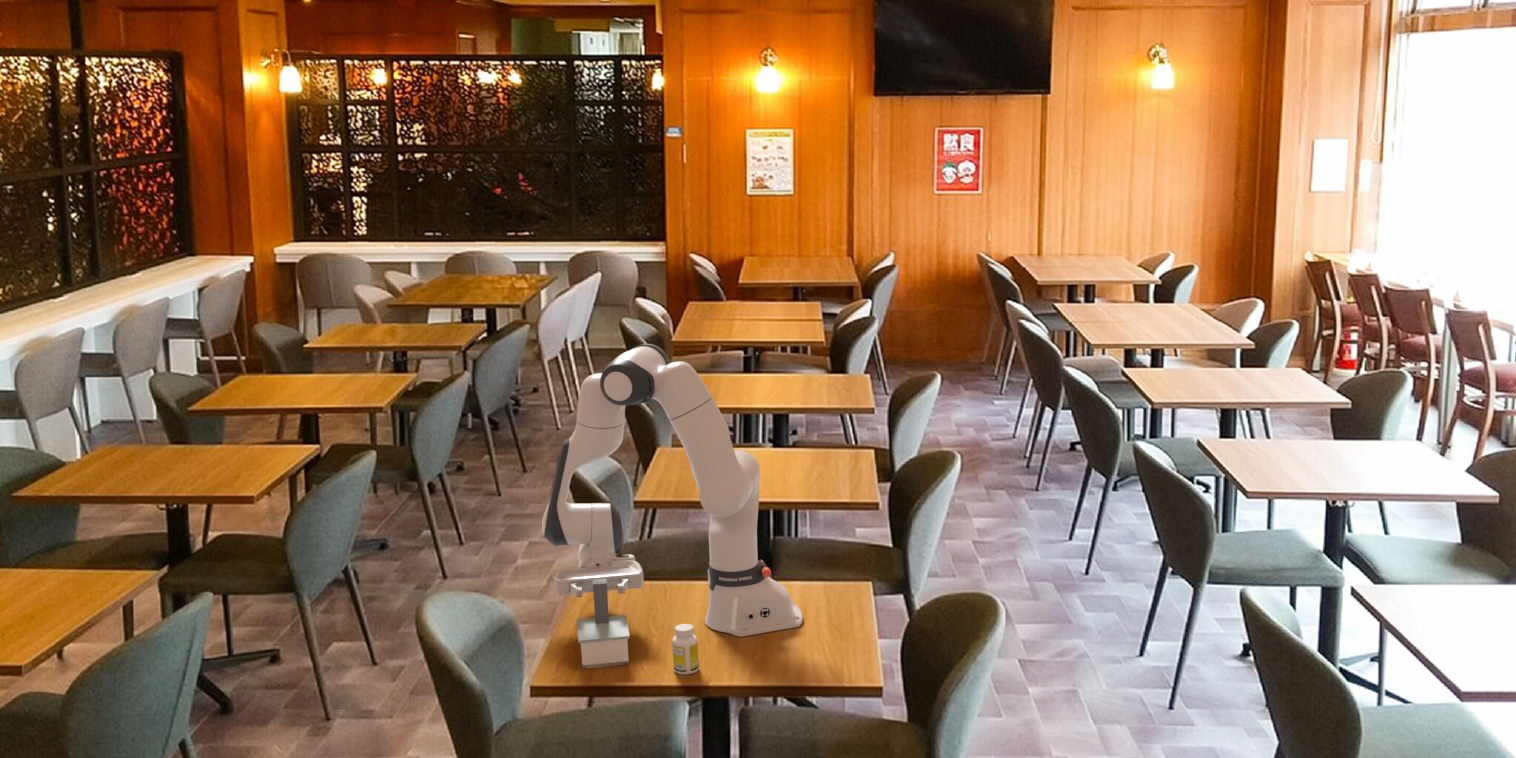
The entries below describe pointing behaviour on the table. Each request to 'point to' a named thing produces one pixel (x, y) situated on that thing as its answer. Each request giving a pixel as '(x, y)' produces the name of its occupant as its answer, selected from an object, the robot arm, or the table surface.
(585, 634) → the carton lid
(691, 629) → the supplement bottle
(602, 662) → the carton
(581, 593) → the robot arm
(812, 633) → the table surface
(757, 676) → the table surface
